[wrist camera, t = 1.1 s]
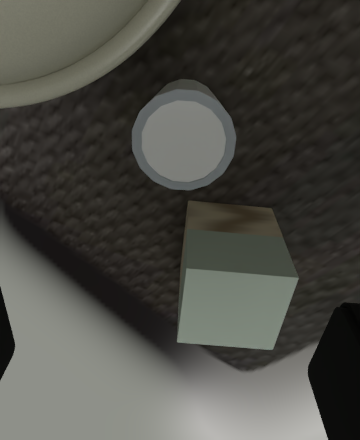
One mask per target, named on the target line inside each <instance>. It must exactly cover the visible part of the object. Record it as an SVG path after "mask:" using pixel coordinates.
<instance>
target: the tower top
mask: <svg viewBox="0 0 360 440" xmlns="http://www.w3.org/2000/svg"><path fill="white" fill-rule="evenodd" d="M298 279H299V277H298V275H297V272H296V270H295V267H294V265H293V262H292V260H291V257H290V254H289V252H288V249H287V247H286V244H285V242H284V239H283V237H273V236H262V235H250V234H239V233H228V232H216V231H205V230H194V229H187V235H186V243H185V252H184V260H183V269H182V277H181V285H180V294H179V309H178V333H177V335H178V336H177V342H180V343H192V344H205V345H217V346H229V347H242V348H254V349H267V350H273V348H274V345H275V342H276V339H277V337H278V334H279V331H280V328H281V326H282V323H283V320H284V317H285V314H286V312H287V309H288V306H289V303H290V301H291V298H292V295H293V292H294V290H295V287H296V284H297V281H298Z"/></svg>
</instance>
